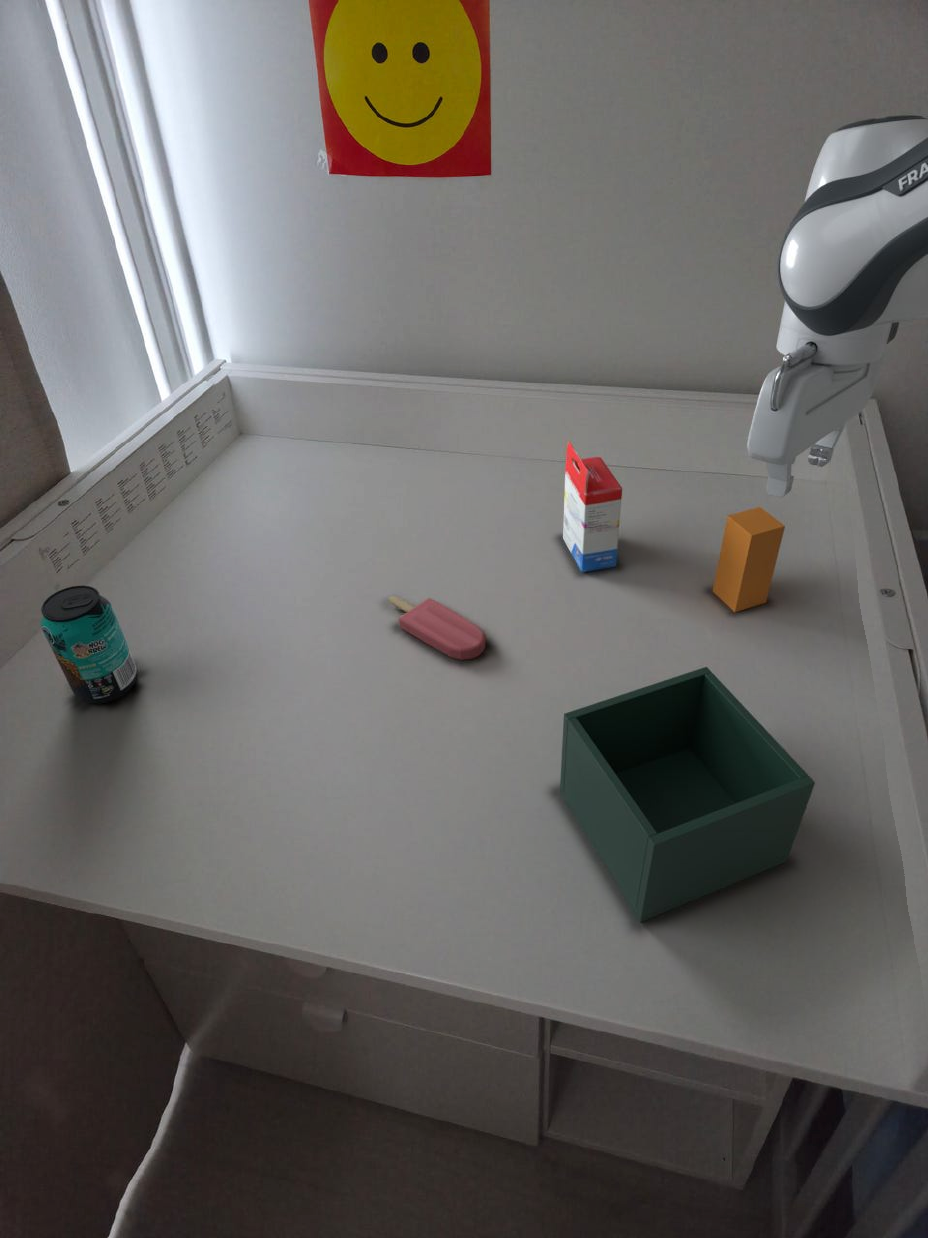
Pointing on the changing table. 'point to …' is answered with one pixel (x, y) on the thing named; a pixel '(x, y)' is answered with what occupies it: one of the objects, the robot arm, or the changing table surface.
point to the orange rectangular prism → (747, 558)
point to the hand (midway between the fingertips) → (798, 478)
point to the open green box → (680, 790)
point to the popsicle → (441, 628)
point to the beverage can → (88, 644)
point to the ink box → (591, 512)
